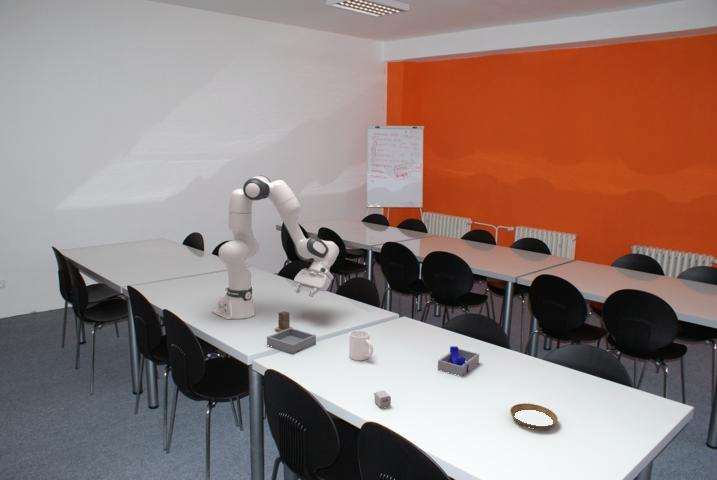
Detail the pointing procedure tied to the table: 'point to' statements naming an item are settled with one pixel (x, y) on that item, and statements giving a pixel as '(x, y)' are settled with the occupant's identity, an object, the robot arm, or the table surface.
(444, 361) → the desk organiser frame
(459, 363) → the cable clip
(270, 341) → the box
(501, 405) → the table surface
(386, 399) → the usb wall charger
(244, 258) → the robot arm
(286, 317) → the oak scraper block
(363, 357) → the mug
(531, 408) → the brown ring
